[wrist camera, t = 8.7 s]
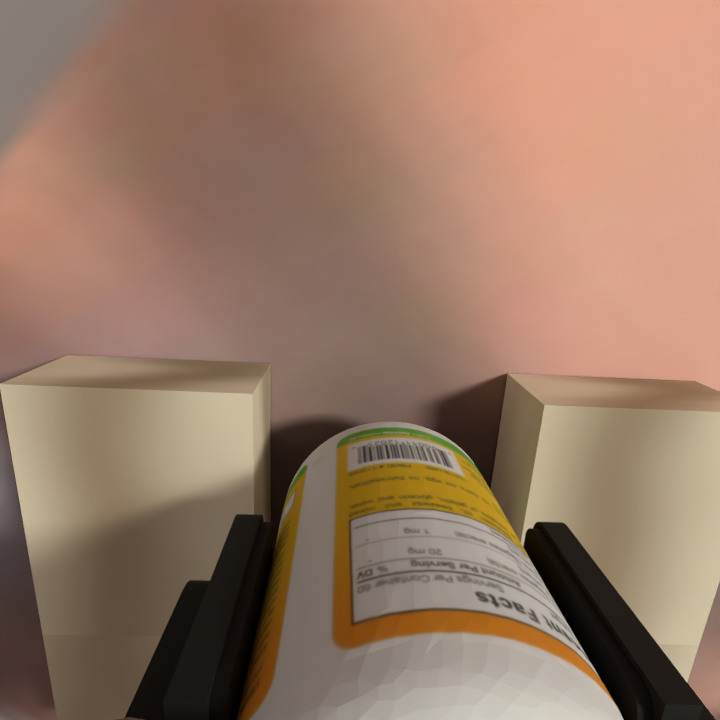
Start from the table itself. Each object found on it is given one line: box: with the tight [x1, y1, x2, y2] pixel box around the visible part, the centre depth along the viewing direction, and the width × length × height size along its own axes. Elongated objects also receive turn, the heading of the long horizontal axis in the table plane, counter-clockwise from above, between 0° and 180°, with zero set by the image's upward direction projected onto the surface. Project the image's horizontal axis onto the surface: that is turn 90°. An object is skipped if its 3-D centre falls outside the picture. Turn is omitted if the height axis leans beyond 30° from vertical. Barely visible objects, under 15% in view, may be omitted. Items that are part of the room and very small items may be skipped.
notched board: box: [0, 355, 720, 720], centre depth 13 cm, size 18×12×2 cm, turn 87°
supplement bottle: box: [236, 422, 624, 720], centre depth 7 cm, size 5×5×10 cm
